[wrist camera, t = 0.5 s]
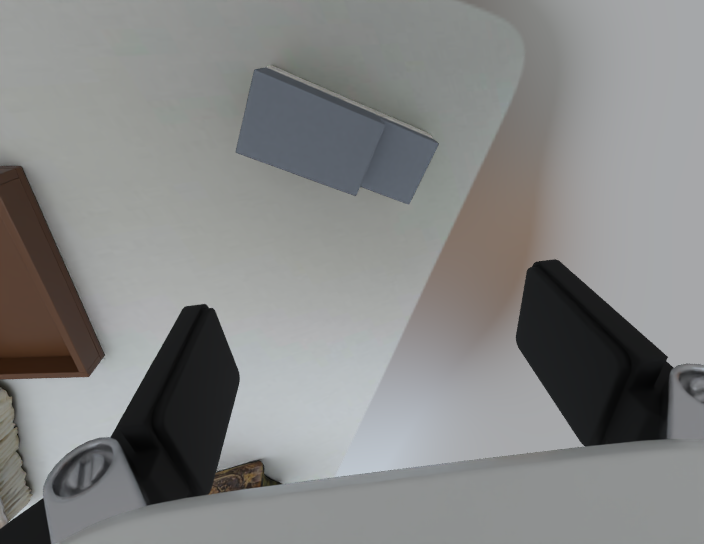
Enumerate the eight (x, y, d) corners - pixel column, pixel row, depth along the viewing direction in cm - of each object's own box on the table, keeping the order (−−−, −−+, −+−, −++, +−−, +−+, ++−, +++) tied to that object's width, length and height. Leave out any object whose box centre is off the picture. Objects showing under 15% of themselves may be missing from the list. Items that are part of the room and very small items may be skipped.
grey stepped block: (252, 135, 24) (234, 154, 19) (269, 64, 22) (254, 66, 17) (399, 191, 27) (416, 219, 22) (427, 132, 25) (451, 150, 20)
